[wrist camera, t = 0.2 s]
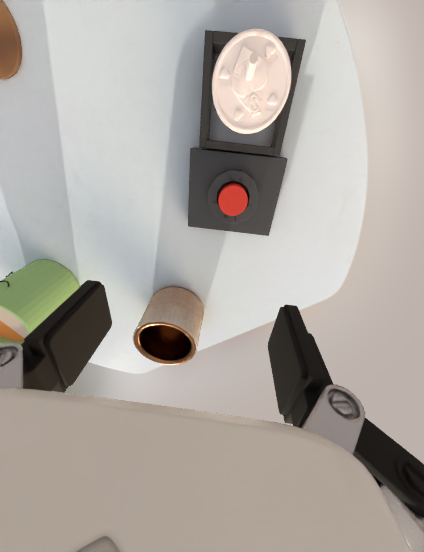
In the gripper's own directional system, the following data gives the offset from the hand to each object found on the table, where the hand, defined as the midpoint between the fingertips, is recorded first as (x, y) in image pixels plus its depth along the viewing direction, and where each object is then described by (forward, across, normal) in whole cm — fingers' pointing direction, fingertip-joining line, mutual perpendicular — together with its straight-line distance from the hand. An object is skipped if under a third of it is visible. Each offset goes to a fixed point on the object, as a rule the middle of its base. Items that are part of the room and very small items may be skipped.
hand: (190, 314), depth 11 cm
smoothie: (+24, -2, -12) cm, 27 cm away
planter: (+24, +6, +21) cm, 33 cm away
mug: (+24, +32, +19) cm, 44 cm away
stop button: (+20, -2, -2) cm, 21 cm away
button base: (+24, -2, -2) cm, 24 cm away
